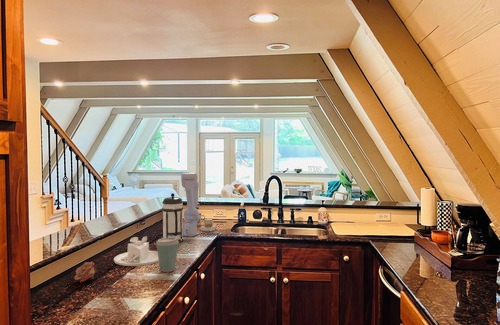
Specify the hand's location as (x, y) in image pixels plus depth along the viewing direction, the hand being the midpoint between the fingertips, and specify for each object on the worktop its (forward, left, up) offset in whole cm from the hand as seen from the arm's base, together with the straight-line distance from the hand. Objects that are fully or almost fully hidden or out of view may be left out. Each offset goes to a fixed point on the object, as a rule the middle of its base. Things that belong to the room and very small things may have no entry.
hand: (193, 216), depth 266 cm
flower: (-107, -18, -10) cm, 109 cm away
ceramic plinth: (+5, -9, -10) cm, 15 cm away
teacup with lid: (+17, +9, -10) cm, 22 cm away
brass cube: (+5, -9, -7) cm, 13 cm away
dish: (-71, -15, -10) cm, 73 cm away
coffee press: (-33, -8, -10) cm, 35 cm away
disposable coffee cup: (-79, -40, -10) cm, 89 cm away
